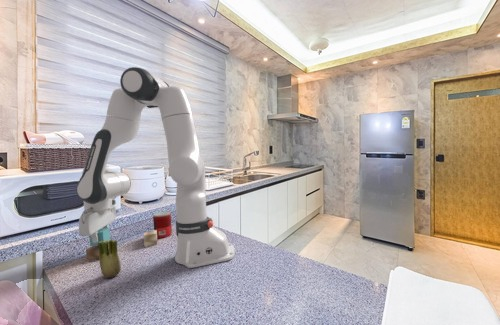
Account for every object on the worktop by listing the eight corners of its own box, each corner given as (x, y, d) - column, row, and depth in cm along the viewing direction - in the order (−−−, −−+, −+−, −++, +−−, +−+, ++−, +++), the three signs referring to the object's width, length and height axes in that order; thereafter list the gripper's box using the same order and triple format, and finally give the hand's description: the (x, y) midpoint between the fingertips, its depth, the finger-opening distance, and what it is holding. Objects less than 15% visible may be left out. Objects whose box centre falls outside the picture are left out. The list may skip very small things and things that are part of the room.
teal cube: (110, 239, 92) (109, 227, 92) (103, 244, 87) (102, 232, 87) (97, 240, 91) (96, 229, 91) (90, 245, 86) (89, 233, 86)
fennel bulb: (98, 277, 72) (95, 241, 71) (113, 270, 76) (110, 236, 76) (109, 281, 70) (106, 244, 69) (124, 273, 74) (121, 238, 73)
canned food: (175, 233, 109) (173, 211, 108) (161, 239, 102) (159, 216, 102) (165, 231, 113) (163, 210, 113) (151, 237, 106) (149, 214, 106)
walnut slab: (115, 251, 92) (115, 242, 92) (103, 259, 85) (102, 249, 85) (100, 251, 93) (99, 242, 93) (86, 259, 86) (85, 249, 86)
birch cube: (157, 240, 102) (156, 229, 101) (157, 244, 97) (156, 233, 97) (145, 242, 100) (144, 231, 100) (144, 246, 95) (143, 235, 95)
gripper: (90, 211, 78) (94, 249, 79) (117, 199, 99) (120, 229, 99) (71, 212, 78) (75, 250, 78) (102, 200, 98) (105, 230, 99)
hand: (100, 238), depth 89 cm, fingers closed on teal cube, 5 cm apart
